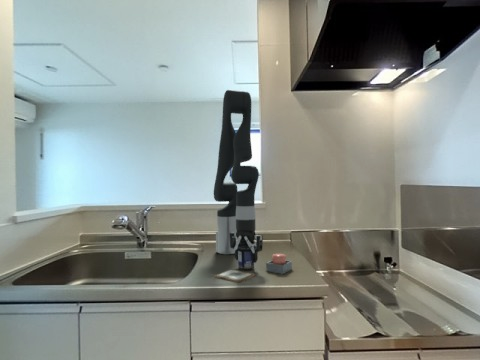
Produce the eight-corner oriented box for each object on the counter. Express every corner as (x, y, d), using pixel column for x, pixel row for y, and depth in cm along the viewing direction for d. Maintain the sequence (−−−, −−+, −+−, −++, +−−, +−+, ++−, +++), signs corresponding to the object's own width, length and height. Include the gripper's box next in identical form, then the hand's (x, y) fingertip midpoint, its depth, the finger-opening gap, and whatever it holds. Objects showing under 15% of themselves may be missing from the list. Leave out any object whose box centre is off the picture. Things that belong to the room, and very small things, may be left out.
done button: (269, 266, 109) (269, 255, 109) (276, 263, 113) (276, 253, 113) (282, 268, 106) (281, 257, 106) (288, 265, 110) (287, 254, 110)
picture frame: (214, 277, 102) (214, 274, 102) (230, 270, 110) (230, 268, 110) (240, 283, 96) (240, 280, 96) (255, 275, 103) (255, 273, 103)
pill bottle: (256, 267, 114) (255, 238, 114) (251, 271, 108) (251, 241, 108) (241, 265, 116) (240, 237, 116) (235, 270, 110) (235, 240, 110)
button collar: (266, 270, 109) (266, 262, 109) (275, 266, 115) (275, 258, 115) (283, 274, 105) (283, 265, 105) (291, 269, 111) (291, 261, 111)
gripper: (224, 217, 113) (225, 260, 113) (256, 219, 105) (256, 266, 105) (236, 215, 120) (236, 256, 119) (266, 217, 111) (267, 261, 111)
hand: (246, 261), depth 112 cm, fingers open, 7 cm apart
